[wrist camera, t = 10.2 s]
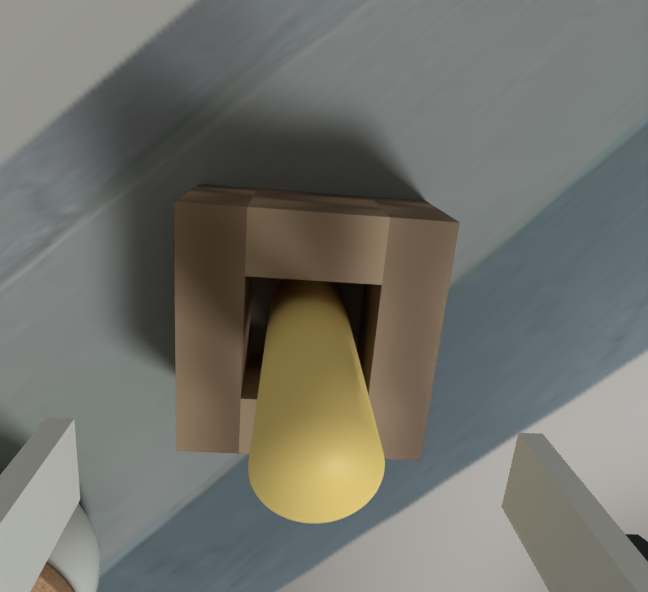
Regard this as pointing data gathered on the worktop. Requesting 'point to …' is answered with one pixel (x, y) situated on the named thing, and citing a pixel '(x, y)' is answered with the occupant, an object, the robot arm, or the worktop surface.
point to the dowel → (313, 410)
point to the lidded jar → (72, 559)
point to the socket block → (305, 264)
